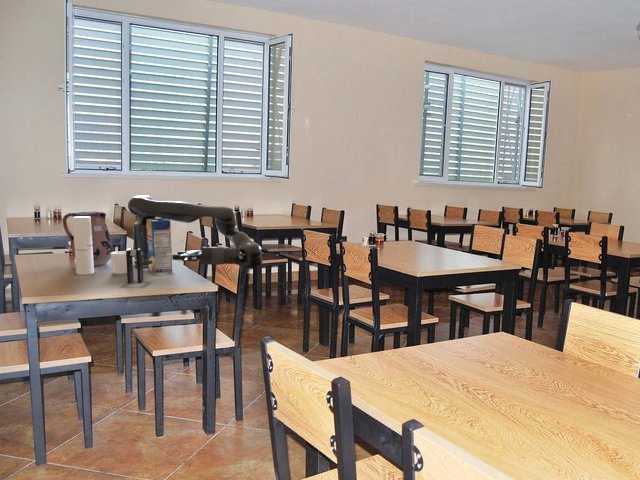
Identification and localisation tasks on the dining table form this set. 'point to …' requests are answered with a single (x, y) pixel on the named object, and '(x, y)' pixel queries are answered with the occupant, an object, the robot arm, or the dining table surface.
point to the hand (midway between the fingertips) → (175, 255)
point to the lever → (133, 254)
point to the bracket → (130, 266)
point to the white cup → (119, 262)
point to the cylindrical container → (83, 245)
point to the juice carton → (159, 245)
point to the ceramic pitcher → (94, 236)
